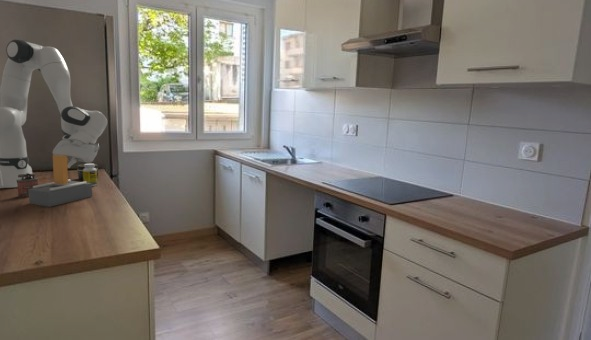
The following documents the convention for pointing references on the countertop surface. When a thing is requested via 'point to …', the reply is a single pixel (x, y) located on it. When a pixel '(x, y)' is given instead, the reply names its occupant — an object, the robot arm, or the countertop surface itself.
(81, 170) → the jar
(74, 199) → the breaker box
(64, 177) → the lever
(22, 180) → the lighter
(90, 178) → the pill bottle
